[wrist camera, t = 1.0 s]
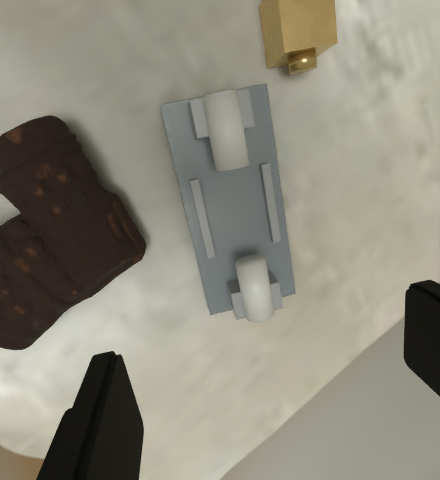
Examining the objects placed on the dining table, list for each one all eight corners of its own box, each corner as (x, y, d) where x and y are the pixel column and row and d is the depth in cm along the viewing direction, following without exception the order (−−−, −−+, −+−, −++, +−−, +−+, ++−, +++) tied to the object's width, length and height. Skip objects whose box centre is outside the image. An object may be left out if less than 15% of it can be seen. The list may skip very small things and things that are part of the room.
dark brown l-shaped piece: (44, 98, 21) (-167, 226, 19) (169, 262, 26) (16, 374, 24) (65, 118, 30) (-77, 206, 28) (155, 237, 35) (42, 318, 33)
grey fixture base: (160, 107, 29) (156, 96, 23) (262, 86, 29) (282, 71, 24) (209, 308, 35) (215, 338, 30) (291, 287, 36) (312, 313, 30)
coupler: (256, -8, 27) (273, -41, 23) (304, -16, 28) (330, -51, 23) (268, 82, 30) (286, 69, 25) (312, 73, 30) (338, 59, 25)
